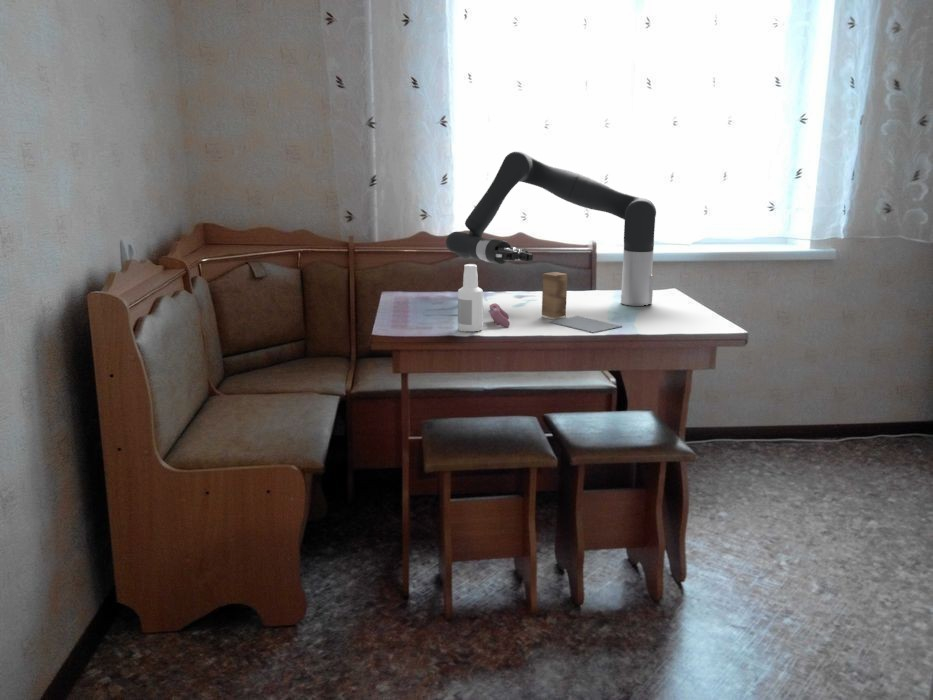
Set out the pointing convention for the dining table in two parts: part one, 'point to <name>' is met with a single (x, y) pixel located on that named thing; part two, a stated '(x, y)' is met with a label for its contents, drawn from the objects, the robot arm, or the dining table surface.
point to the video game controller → (499, 315)
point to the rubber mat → (585, 324)
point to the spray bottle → (470, 301)
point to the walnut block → (554, 295)
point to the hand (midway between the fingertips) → (531, 257)
